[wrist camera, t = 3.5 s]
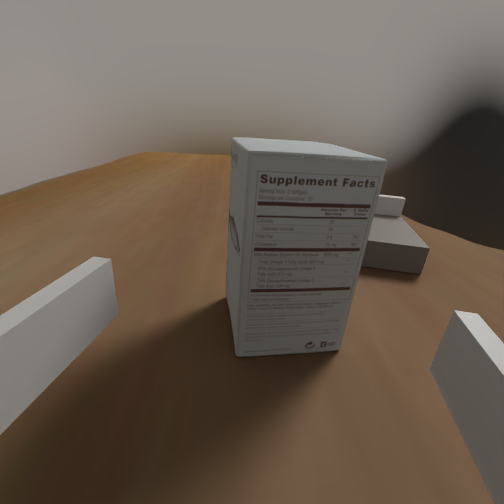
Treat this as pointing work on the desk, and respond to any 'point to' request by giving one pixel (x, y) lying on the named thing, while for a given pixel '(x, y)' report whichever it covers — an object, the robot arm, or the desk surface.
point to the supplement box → (296, 242)
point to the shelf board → (393, 240)
